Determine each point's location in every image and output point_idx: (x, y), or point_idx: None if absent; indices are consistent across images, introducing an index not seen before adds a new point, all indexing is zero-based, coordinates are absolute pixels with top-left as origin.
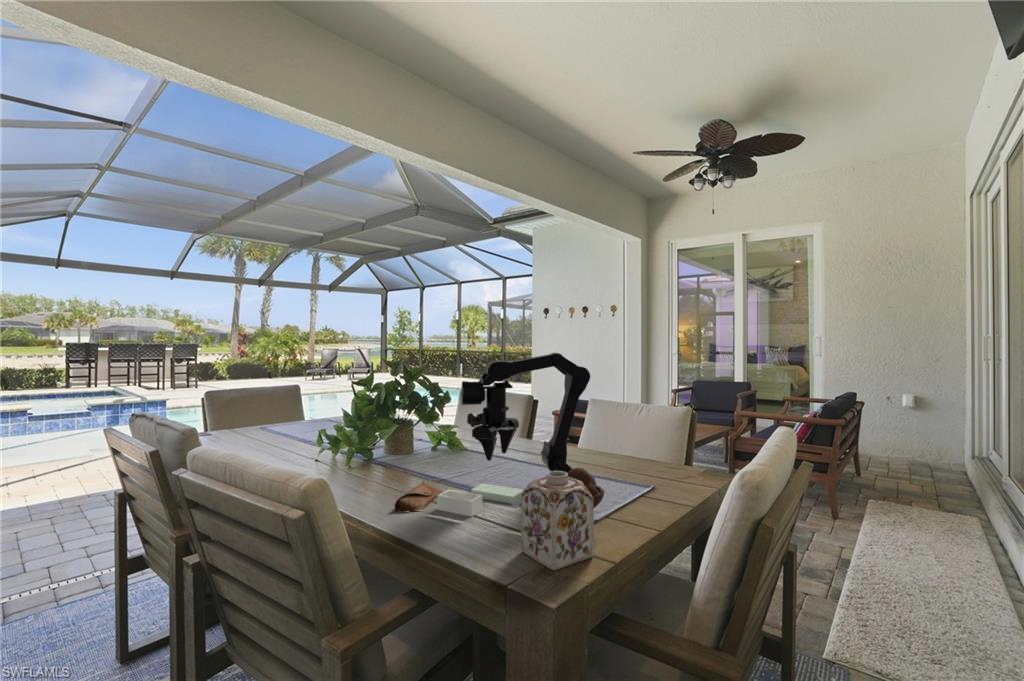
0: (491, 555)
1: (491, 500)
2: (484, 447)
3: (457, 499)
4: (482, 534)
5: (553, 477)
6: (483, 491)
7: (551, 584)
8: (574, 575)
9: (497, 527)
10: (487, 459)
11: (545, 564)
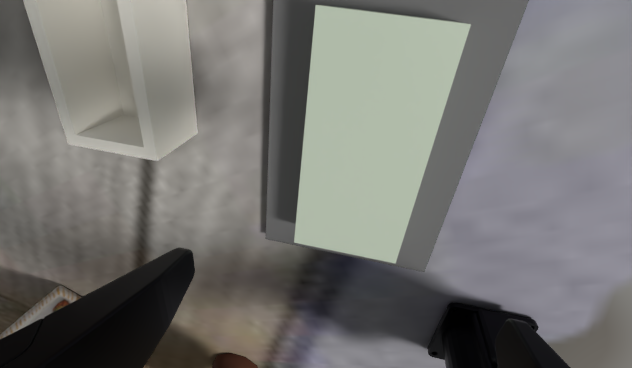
0: (5, 238)
1: (303, 135)
2: (9, 358)
3: (44, 63)
4: (62, 191)
5: None
6: (310, 97)
7: None
8: None
9: (123, 215)
10: (172, 255)
11: None
